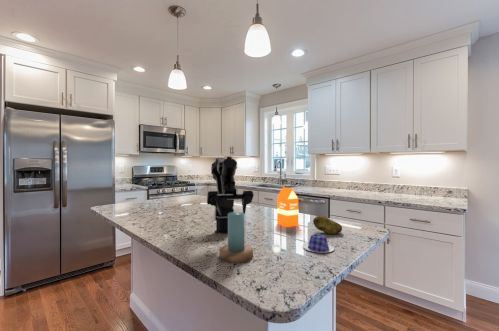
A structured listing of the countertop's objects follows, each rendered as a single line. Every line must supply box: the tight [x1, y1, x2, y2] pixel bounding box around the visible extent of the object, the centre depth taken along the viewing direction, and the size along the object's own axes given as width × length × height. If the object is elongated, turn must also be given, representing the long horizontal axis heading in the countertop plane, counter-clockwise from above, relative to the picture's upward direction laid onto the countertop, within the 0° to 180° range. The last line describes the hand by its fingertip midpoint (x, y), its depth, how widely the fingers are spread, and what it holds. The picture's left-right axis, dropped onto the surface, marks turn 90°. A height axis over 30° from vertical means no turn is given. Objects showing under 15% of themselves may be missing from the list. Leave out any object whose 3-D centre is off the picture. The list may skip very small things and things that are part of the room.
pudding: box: [302, 233, 335, 254], centre depth 99 cm, size 12×12×5 cm
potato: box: [312, 215, 343, 235], centre depth 120 cm, size 8×13×8 cm, turn 63°
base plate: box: [219, 244, 254, 264], centre depth 91 cm, size 12×12×2 cm
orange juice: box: [276, 186, 300, 228], centre depth 137 cm, size 8×9×20 cm
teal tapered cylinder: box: [227, 211, 246, 252], centre depth 91 cm, size 6×6×13 cm
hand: (232, 214), depth 98 cm, fingers open, 9 cm apart
